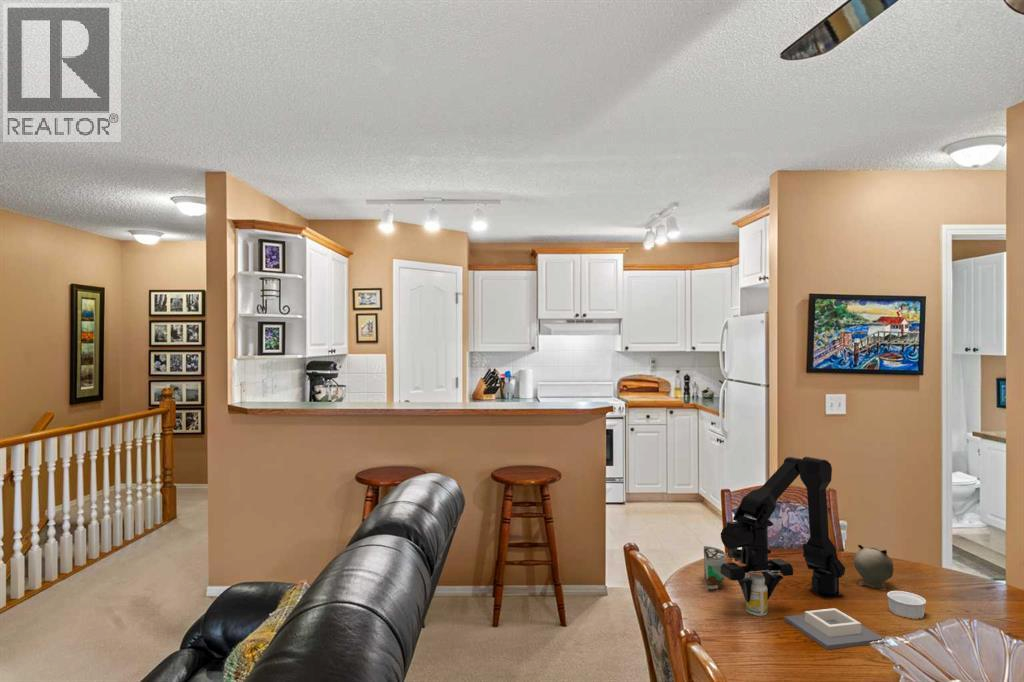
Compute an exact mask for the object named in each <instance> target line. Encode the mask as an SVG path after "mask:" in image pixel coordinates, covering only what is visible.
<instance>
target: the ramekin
mask: <svg viewBox="0 0 1024 682" xmlns="http://www.w3.org/2000/svg"><path fill="white" fill-rule="evenodd" d="M886 596H887V600H888V601H887V602H888V609H889V611H890V612H891V613H892V612H893V614H894V613H895V614H894V615H896V614H897V615H896V616H898V615H899V616H898V617H900V616H903V617H902V618H904V617H907V618H906V619H909V618H912V619H911V620H920V619H923V618H924V615H925V609H926V605H927V600H926V598H924V597H923V596H921V595H918V594H916V593H912V592H909V591H902V590H891V591H888V592H887V594H886ZM919 618H920V619H919Z"/></svg>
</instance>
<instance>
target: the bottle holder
mask: <svg viewBox="0 0 1024 682" xmlns="http://www.w3.org/2000/svg"><path fill="white" fill-rule="evenodd" d="M783 617H784V619H783V621H785V622H786V623H788V624H789V625H790V624H791V625H790V626H792V627H793V628H795V629H796V630H798V631H799V632H800V633H802V634H804V635H805V636H806V637H808V638H810V639H811V640H812V641H814V642H815V643H817V644H818V645H820V646H821V647H822V648H824V649H826V650H836V649H845V648H851V647H852V646H853V647H861V645H862V646H868V645H867V644H869V643H870V642H872V641H878V640H882V639H885V637H883V636H882V635H879V634H878V633H876V632H875V631H873V630H871V629H869V628H868V627H866V626H865V625H862V623H861V622H860V621H858V620H857V619H855V618H853V617H851V616H849V615H848V614H846V613H844V612H842V611H841V610H839V609H837V608H836V607H833V608H825V609H814V610H805V611H804V613H803V614H796V615H795V614H794V615H787V616H786V615H785V616H783ZM885 640H886V639H885Z"/></svg>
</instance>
